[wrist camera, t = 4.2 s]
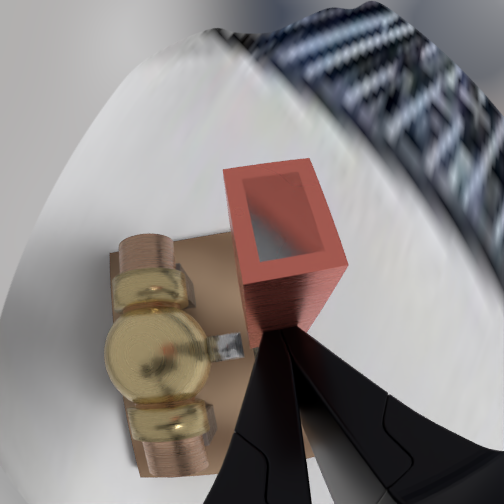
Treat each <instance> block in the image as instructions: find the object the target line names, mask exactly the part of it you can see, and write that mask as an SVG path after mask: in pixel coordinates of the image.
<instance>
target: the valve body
mask: <svg viewBox="0 0 504 504" xmlns="http://www.w3.org/2000/svg"><path fill="white" fill-rule="evenodd" d="M119 263H120V274H119V275H117V276H116V277H114V278H113V280H112V285H113V301H114V311H115V312H116V313H118V314H122V315H121V316H120V317H119V318H118V319H117V320H116V321H115V323H114V324H113V325H112V327H111V329H110V331H109V333H108V335H107V338H106V342H105V347H104V360H105V366H106V369H107V373H108V375H109V377H110V379H111V381H112V383H113V384H114V386H115V387H116V388H117V390H118V391H119V392H120V393H121V394H122V395H123V396H125V397H126V398H127V399H128V400H130V401H131V402H133V403H135V406H133V407H129V408H127V411H128V417H129V422H130V427H131V432H132V436H133V439H134V440H137V441H142V442H143V446H144V451H145V455H146V459H147V463H148V467H149V471H150V473H151V474H152V475H155V476H159V477H182V476H188V475H192V474H196V473H198V472H201V471H203V470H205V469H206V468H207V467H208V466H209V463H208V459H207V454H206V450H205V446H208V445H210V443H211V441H212V439H213V437H214V435H215V433H216V431H217V429H218V428H217V423H216V418H215V413H214V408H213V405H209V406H205V402H204V400H201V399H195V396H196V395H197V394H198V393H199V392H200V391H201V389H202V388H203V386H204V385H205V383H206V381H207V379H208V376H209V373H210V369H211V363H213V362H220V361H226V360H233V359H239V358H245V356H244V350H243V345H242V339H241V334H240V332H234V333H228V334H222V335H216V336H209V337H207V336H206V334H205V332H204V330H203V329H202V328H201V326H200V325H199V323H198V322H197V321H196V320H195V319H194V318H193V317H192V316H190V315H189V314H188V313H186V312H185V311H183V310H182V309H189V308H195V307H196V300H195V293H194V286H193V283H192V281H191V280H190V278H189V277H188V275H187V273H186V272H185V270H184V269H183V267H182V266H181V264H180V263H176V264H175V255H174V245H173V241H172V239H170V238H169V237H167V236H164V235H159V234H140V235H135V236H131V237H128V238H126V239H124V240H123V241H122V242H121V243H120V244H119Z"/></svg>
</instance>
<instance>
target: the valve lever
mask: <svg viewBox="0 0 504 504" xmlns="http://www.w3.org/2000/svg"><path fill="white" fill-rule="evenodd" d="M223 175H224V183H225V191H226V198H227V206H228V213H229V221H230V228H231V235H232V243H233V250H234V257H235V264H236V271H237V278H238V284H239V290H240V296H241V301H242V307H243V312H244V318H245V323H246V329H247V334H248V339H249V345H250V348H253V352H254V357H255V358H256V354H257V351H258V347H259V344H260V340H261V337H262V333H263V332H266V331H272V330H277V329H279V330H281V329H282V328H287V327H292V326H298V327H299V328H301V329H302V330H303V331H305V332H306V333H307V331H308V330H309V328H310V327H311V325H312V324H313V322H314V320H315V319H316V317H317V316H318V314H319V313H320V311H321V309H322V308H323V306H324V305H325V303H326V302H327V300H328V298H329V297H330V295H331V293H332V292H333V290H334V289H335V287H336V285H337V284H338V282H339V280H340V279H341V277H342V275H343V274H344V272H345V270H346V268H347V267H348V262H347V259H346V256H345V253H344V250H343V247H342V244H341V241H340V238H339V235H338V232H337V230H336V227H335V224H334V221H333V218H332V216H331V213H330V210H329V207H328V205H327V202H326V199H325V197H324V194H323V191H322V189H321V186H320V184H319V181H318V178H317V176H316V173H315V171H314V168H313V166H312V163H311V161H310V158H306V159H297V160H288V161H280V162H272V163H264V164H257V165H250V166H243V167H236V168H230V169H223Z"/></svg>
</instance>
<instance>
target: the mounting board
mask: <svg viewBox="0 0 504 504" xmlns="http://www.w3.org/2000/svg"><path fill="white" fill-rule="evenodd" d="M173 245H174V255H175V264H176V263H180V264H181V266H182V267H183V269H184V270H185V272H186V273H187V275H188V277H189V278H190V280H191V281H192V283H193V286H194V293H195V300H196V307H195V308H189V309H182V310H183V311H185V312H186V313H188V314H189V315H190V316H192V317H193V318H194V319H195V320H196V321H197V322H198V323H199V325H200V326H201V328H202V329H203V330H204V332H205V334H206V336H207V337H209V336H216V335H222V334H228V333H234V332H240V334H241V339H242V345H243V350H244V356H245V358H239V359H233V360H226V361H220V362H213V363H211V369H210V373H209V376H208V379H207V381H206V383H205V385H204V386H203V388H202V389H201V391H200V392H199V393H198V394H197V395H196V396H195V399H201V400H204V402H205V406H209V405H213V408H214V413H215V418H216V423H217V428H218V429H217V431H216V433H215V435H214V437H213V439H212V441H211V443H210V445H208V446H205V450H206V454H207V459H208V463H209V466H208V467H207V468H206V469H205V470H203V471H201V472H198V473H196V474H192V475H188V476H198V475H210V474H218V473H219V471H220V469H221V466H222V464H223V461H224V458H225V456H226V453H227V450H228V447H229V444H230V441H231V438H232V435H233V433H235V432H234V429H235V426H236V422H237V419H238V416H239V412H240V409H241V406H242V402H243V399H244V396H245V392H246V389H247V385H248V382H249V379H250V375H251V372H252V368H253V365H254V361H255V357H254V352H253V348H250V345H249V339H248V334H247V329H246V323H245V318H244V312H243V307H242V301H241V296H240V290H239V284H238V278H237V271H236V264H235V257H234V250H233V243H232V235H231V232H226V233H220V234H214V235H208V236H203V237H197V238H191V239H185V240H179V241H174V242H173ZM119 274H120V263H119V252H113V253H110V280H111V298H112V312H113V324H114V323H115V321H116V320H117V319H118V318H119V317H120V316H121V315H122V314H118V313H116V312H115V311H114V301H113V285H112V280H113V278H114V277H116V276H117V275H119ZM123 400H124V405H125V411H126V416H127V421H128V426H129V431H130V436H131V440H132V445H133V449H134V453H135V458H136V462H137V466H138V469H139V473H140V477H159V476H155V475H152V474H151V473H150V471H149V467H148V463H147V459H146V455H145V451H144V446H143V442H142V441H137V440H134V439H133V436H132V432H131V427H130V422H129V417H128V411H127V408H129V407H133V406H135V403H133V402H131V401H130V400H128V399H127V398H126V397H125V396H123ZM301 425H302V424H301ZM302 432H303V440H304V447H305V454H306V459H307V458H311V457H315V456H314V453H313V451H312V448H311V446H310V443H309V441H308V438H307V436H306V434H305V431H304V429H303V426H302ZM182 477H183V476H182Z"/></svg>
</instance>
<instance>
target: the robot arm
mask: <svg viewBox="0 0 504 504" xmlns="http://www.w3.org/2000/svg"><path fill="white" fill-rule="evenodd" d="M301 424H302V425H301ZM302 426H303V429H304V431H305V434H306V436H307V438H308V441H309V443H310V446H311V448H312V451H313V453H314V456H315V458H316V460H317V463H318V465H319V468H320V470H321V473H322V475H323V477H324V480H325V482H326V485H327V487H328V489H329V492H330V494H331V497H332V499H333V501H334V504H504V451H497V450H492V449H488V448H485V447H482V446H480V445H478V444H476V443H474V442H472V441H470V440H467V439H465V438H463V437H461V436H459V435H457V434H455V433H454V432H452V431H450V430H448V429H446V428H444V427H442V426H440V425H438V424H436V423H434V422H432V421H431V420H429V419H427V418H425V417H424V416H422V415H420V414H418V413H417V412H415V411H414V410H412V409H411V408H409V407H408V406H406V405H405V404H403V403H402V402H400V401H399V400H397V399H396V398H395V397H393V396H392V395H388V393H387V392H386V391H385V390H383V389H382V388H380V387H379V386H378V385H376V384H375V383H374V382H372V381H371V380H369V379H368V378H367V377H365V376H364V375H363V374H361V373H360V372H358V371H357V370H356V369H354V368H353V367H352V366H350V365H349V364H348V363H346V362H345V361H343V360H342V359H341V358H339V357H338V356H337V355H335V354H334V353H333V352H331V351H330V350H329V349H327V348H326V347H325V346H323V345H322V344H321V343H319V342H318V341H317V340H315V339H314V338H313V337H311V336H310V335H309V334H307V333H306V332H305V331H303V330H302V329H301V328H299V327H298V326H292V327H287V328H282V329H281V330H279V329H277V330H272V331H266V332H263V333H262V337H261V340H260V344H259V347H258V351H257V354H256V358H255V361H254V365H253V368H252V372H251V375H250V379H249V382H248V385H247V389H246V392H245V396H244V399H243V402H242V406H241V409H240V412H239V416H238V419H237V422H236V426H235V429H234V432H235V433H233V435H232V438H231V441H230V444H229V447H228V450H227V453H226V456H225V458H224V461H223V464H222V466H221V469H220V471H219V473H218V475H217V477H216V479H215V482H214V484H213V486H212V488H211V490H210V492H209V493H208V495H207V497H206V499H205V501H204V503H203V504H312V501H311V493H310V485H309V477H308V470H307V462H306V454H305V447H304V440H303V432H302Z"/></svg>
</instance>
